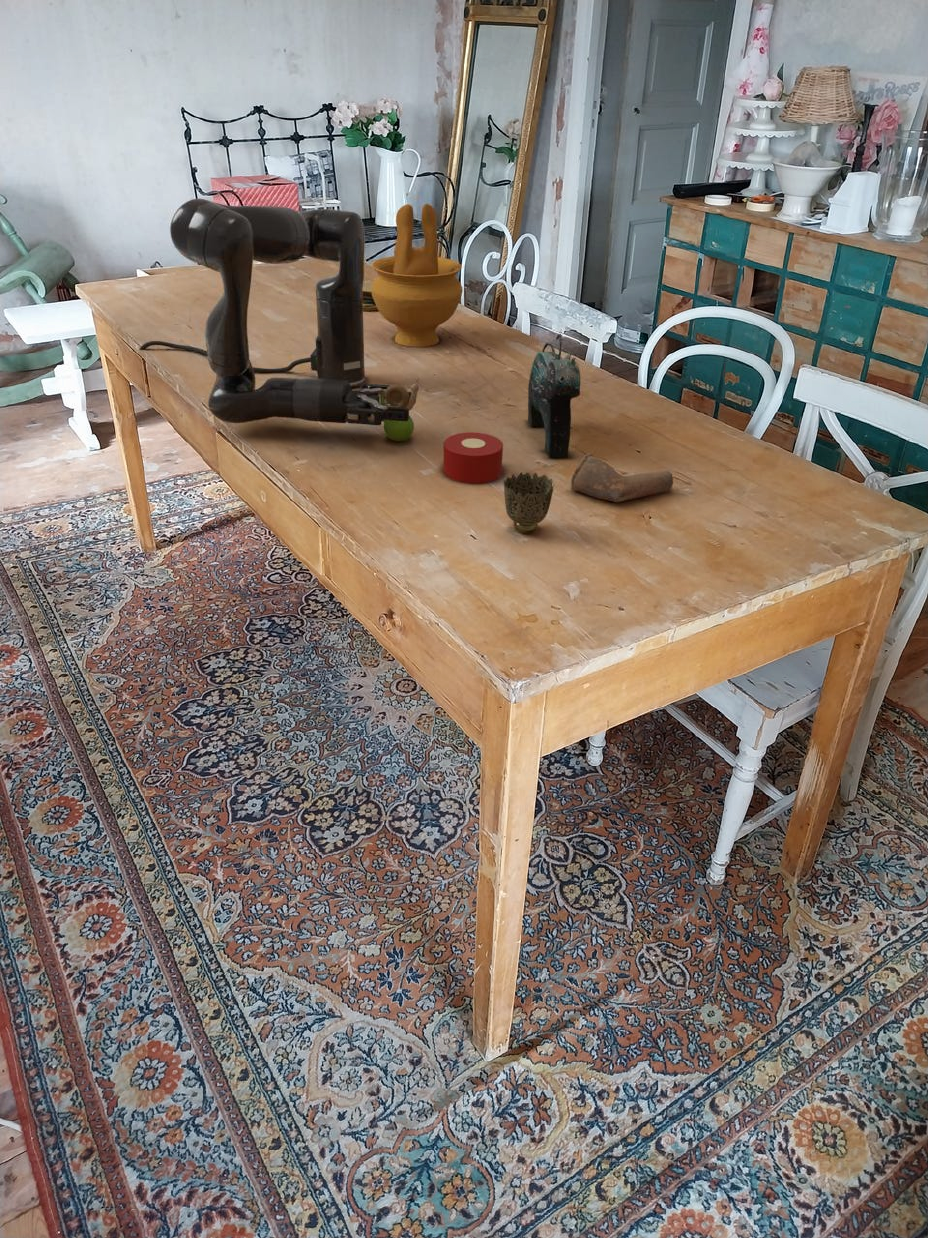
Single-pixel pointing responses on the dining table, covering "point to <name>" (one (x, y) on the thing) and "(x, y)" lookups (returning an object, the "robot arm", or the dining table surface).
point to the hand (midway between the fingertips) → (412, 406)
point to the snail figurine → (400, 398)
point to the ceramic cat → (553, 398)
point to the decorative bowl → (416, 282)
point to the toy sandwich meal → (368, 297)
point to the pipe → (617, 481)
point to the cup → (527, 500)
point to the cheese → (472, 457)
